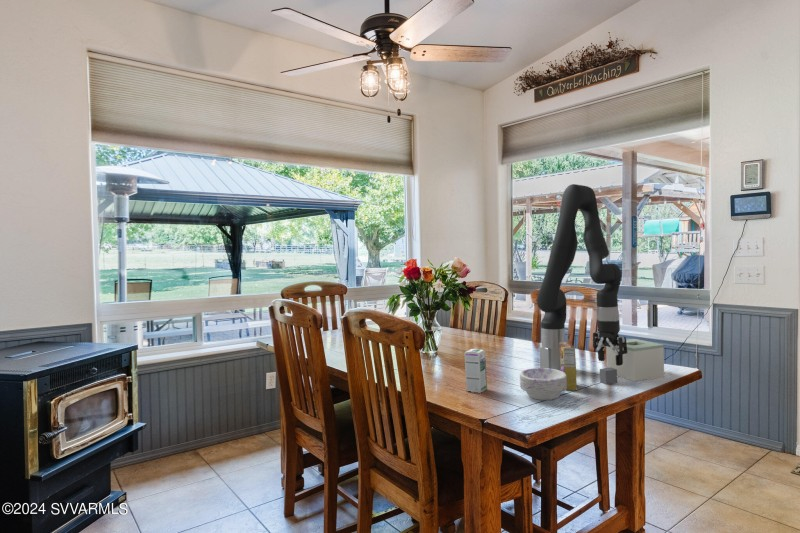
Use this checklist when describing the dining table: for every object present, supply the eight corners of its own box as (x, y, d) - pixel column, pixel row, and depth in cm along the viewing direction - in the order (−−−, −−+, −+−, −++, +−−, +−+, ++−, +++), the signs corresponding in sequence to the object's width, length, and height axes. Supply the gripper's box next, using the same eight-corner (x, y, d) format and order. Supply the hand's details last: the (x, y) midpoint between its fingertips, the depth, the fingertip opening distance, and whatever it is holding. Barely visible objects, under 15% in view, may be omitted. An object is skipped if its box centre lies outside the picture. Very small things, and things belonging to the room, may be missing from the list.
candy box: (560, 383, 178) (558, 342, 177) (572, 383, 177) (571, 342, 177) (564, 390, 169) (563, 347, 169) (577, 390, 168) (575, 347, 168)
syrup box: (481, 393, 170) (479, 352, 169) (465, 391, 173) (464, 351, 172) (487, 389, 175) (485, 349, 174) (472, 387, 178) (470, 348, 177)
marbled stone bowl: (540, 406, 154) (539, 381, 154) (511, 394, 168) (510, 371, 168) (577, 398, 160) (576, 374, 160) (546, 387, 174) (545, 365, 174)
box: (634, 381, 176) (633, 348, 176) (606, 372, 190) (606, 342, 189) (664, 376, 181) (663, 344, 180) (635, 368, 194) (634, 338, 194)
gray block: (606, 384, 174) (605, 370, 174) (600, 382, 177) (599, 369, 177) (617, 382, 176) (616, 369, 176) (611, 380, 179) (610, 367, 178)
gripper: (585, 317, 181) (588, 360, 181) (614, 321, 168) (617, 368, 168) (601, 315, 184) (604, 358, 184) (631, 319, 170) (633, 365, 171)
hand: (610, 363), depth 176 cm, fingers open, 8 cm apart
